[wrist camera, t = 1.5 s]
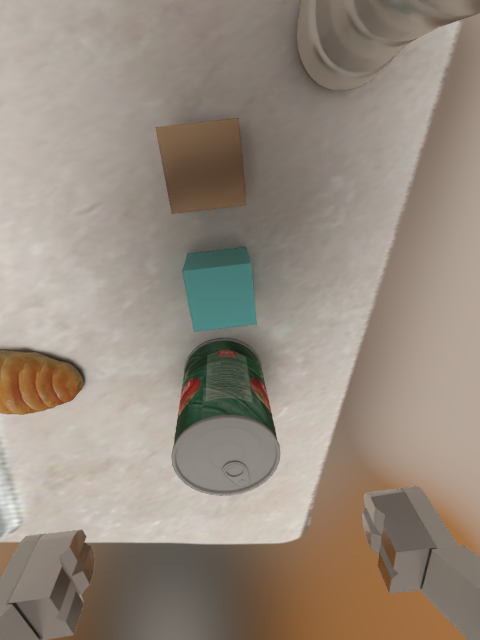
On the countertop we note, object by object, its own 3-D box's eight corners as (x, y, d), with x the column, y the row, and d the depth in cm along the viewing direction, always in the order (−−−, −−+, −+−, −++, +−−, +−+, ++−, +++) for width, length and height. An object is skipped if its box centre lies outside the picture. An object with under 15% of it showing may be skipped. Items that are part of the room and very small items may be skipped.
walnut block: (166, 134, 24) (155, 127, 20) (234, 126, 24) (238, 118, 20) (179, 204, 26) (171, 213, 22) (240, 197, 26) (246, 204, 22)
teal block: (187, 253, 28) (182, 271, 24) (245, 246, 28) (251, 263, 24) (197, 306, 30) (193, 331, 26) (250, 300, 30) (256, 324, 26)
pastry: (79, 345, 31) (63, 368, 28) (91, 400, 34) (77, 427, 31) (-24, 345, 31) (-54, 368, 27) (-3, 402, 34) (-28, 429, 30)
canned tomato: (170, 356, 32) (150, 441, 22) (243, 326, 31) (256, 401, 21) (205, 412, 36) (201, 507, 26) (272, 386, 35) (295, 475, 25)
